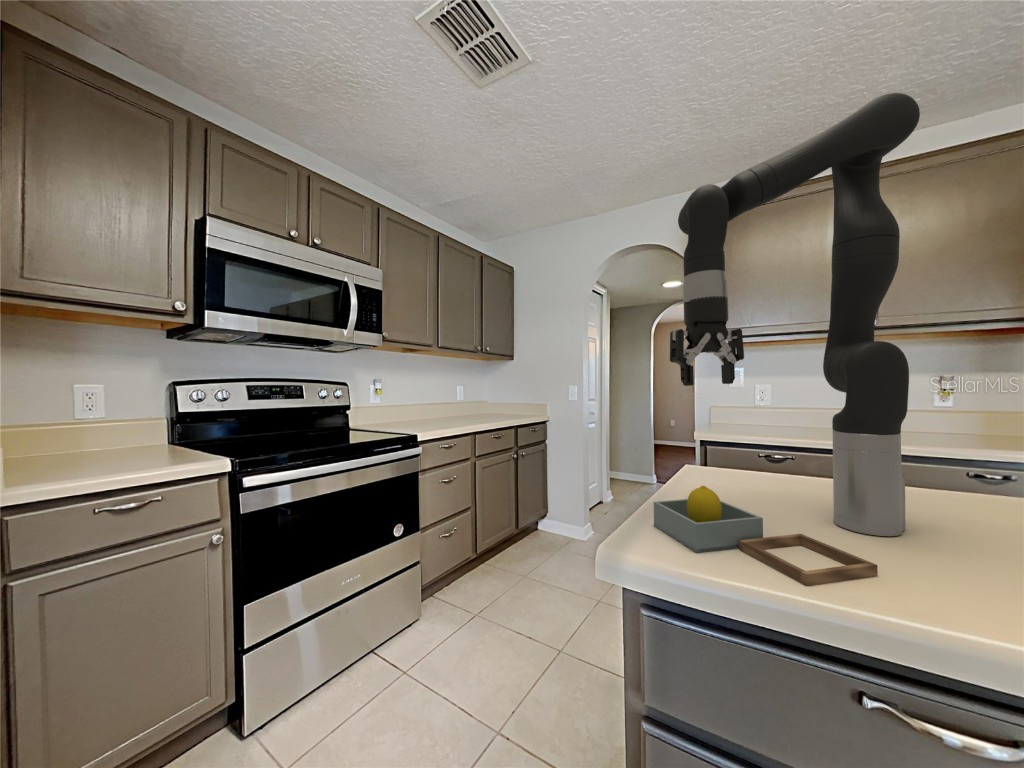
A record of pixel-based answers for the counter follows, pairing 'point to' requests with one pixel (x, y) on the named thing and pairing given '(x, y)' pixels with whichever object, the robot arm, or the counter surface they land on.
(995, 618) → the counter surface
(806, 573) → the tray
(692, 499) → the lemon
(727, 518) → the bin
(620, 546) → the counter surface
